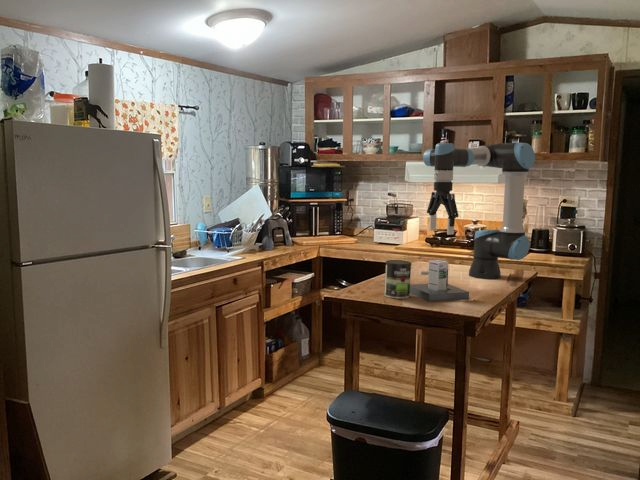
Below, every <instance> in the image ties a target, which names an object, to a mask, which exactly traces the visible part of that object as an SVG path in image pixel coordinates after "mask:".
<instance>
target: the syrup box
mask: <svg viewBox="0 0 640 480" xmlns="http://www.w3.org/2000/svg"><path fill="white" fill-rule="evenodd" d="M428 271H429V275H427V276H428V281H427V284H428V288H429V289H431V290H433V291H441V290H447V289H448V284H449V283H448V282H449V261H447V260H444V259H437V260H435V259H434V260H429V261H428Z"/></svg>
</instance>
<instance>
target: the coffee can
mask: <svg viewBox="0 0 640 480" xmlns="http://www.w3.org/2000/svg"><path fill="white" fill-rule="evenodd" d="M411 269H412V262H411V261H409V260H402V259H401V260H400V259H390V260H386V261H385V275H384V276H385V278H384V279H385V281H384V296H385V297H386V298H388V299H389V298H390V299H398V300H401V299H402V300H403V299H404V300H405V299H408V298H409V299H410V294H411V293H410V285H411Z"/></svg>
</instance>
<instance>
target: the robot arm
mask: <svg viewBox="0 0 640 480" xmlns="http://www.w3.org/2000/svg"><path fill="white" fill-rule="evenodd" d="M454 144H455V143H452V142H451V143H449V142H439V143H437V144H436V145H435V148H431V149H426V150H425V151H424V153H423V156H422V161H423V163H424V164H425V166H427V167H434V174H433V175H434V177H433V180H434V182H433V190H434V191H432V192H431V193H430V194H431V195H430V200H429V204H428V206H427V210H426V213H427V214H428V215H429V231H431V232H432V231H434V232H435V231H437V216H438V215H437V212H438V210H439V208H440V206H441V205H443V206H444V208H445V211H446V214H447V216H448V217H447V224H446V226H447V228H446V234H447V235H455V226H456V225H455V224H456V223H455V222H456V218H459V211H458V207H457V203H456V197H455V196H456V195H455V193H450V192H451V191H453V185H454V183H453V182H452V181H453V180H454V167H456V168H460V167H461V168H465V167H470V166H472V165H473V166H474V165H477V166H479V167H489V168H494V169H501V172H502V174H504V177H505V178H504V191H503V192H504V195H503V214H502V226H501V228H499V229H482V230H480V229H479V230H476V231H475V234H474V238H473V244H474V245H473V259H472V263H471V264H470V266H469V267H470V268H469V269H468V275H469V276H470V277H473V278H477V279H487V280H490V279H496V280H497V279H500V278H501V277H502V276H501V275H502V271H501V269H500V264H499V258H503V259H509V260H512V261H513V260H515V261H520V260H522V259H524V258H525V257H526V255H527V254H528V252H529V250H530V247H531V241H530V238H529V237H528V236H527V235H526V231H525V229H523V218H524V217H523V215H524V214H523V213H524V199H525V198H524V197H525V178H526V175H528V174H529V173H530V172H529V170H531V169H532V168H533V166H534V165H535V162H536V154H535V150H534V148H533V147H532V145H531V144H529V143H527V142H521V141H520V142H505V143H504V142H503V143H501V142H500V143H493V144H486V145H479V146H478V147H470V148H468V147H465V148H464V147H463V148H455V145H454Z"/></svg>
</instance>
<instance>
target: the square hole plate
mask: <svg viewBox="0 0 640 480" xmlns="http://www.w3.org/2000/svg"><path fill="white" fill-rule="evenodd" d="M410 294H412V295H414V296H416V297H419V298H421V299H423V300H425V301H427V302H429V303H430V302H432V301H433V302H444V301H445V302H446V301H447V302H449V301H462V300H463V301H464V300H469V299H470V291H468V290H466V289H463V288H460V287H458V286H454V285H452V284H449V283H448V289H447V290H441V291H433V290H431V289H429V288H428V283H415V284H410ZM433 302H432V303H433Z"/></svg>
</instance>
